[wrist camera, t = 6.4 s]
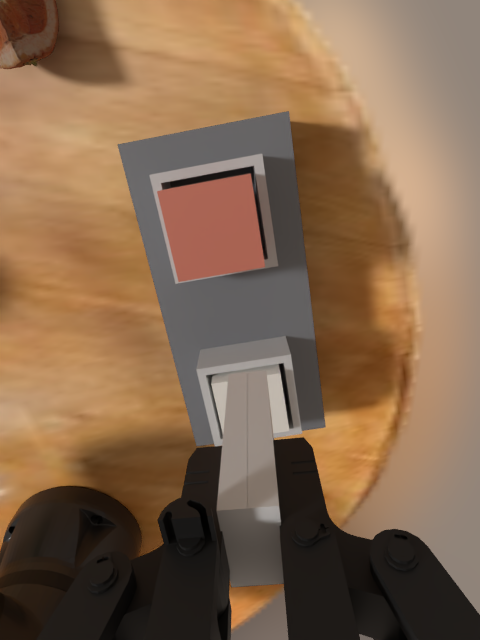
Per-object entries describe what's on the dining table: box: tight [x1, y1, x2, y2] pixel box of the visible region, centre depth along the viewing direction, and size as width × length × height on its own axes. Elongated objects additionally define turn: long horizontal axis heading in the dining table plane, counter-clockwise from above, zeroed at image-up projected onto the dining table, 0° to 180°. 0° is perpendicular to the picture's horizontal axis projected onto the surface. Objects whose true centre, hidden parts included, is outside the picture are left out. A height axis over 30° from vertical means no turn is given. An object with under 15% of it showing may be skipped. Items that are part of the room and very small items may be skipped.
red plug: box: [157, 173, 265, 282], centre depth 24 cm, size 5×5×4 cm
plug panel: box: [118, 111, 325, 446], centre depth 32 cm, size 26×12×8 cm, turn 10°
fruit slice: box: [0, 0, 59, 69], centre depth 26 cm, size 8×7×5 cm
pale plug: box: [211, 364, 289, 433], centre depth 32 cm, size 5×5×4 cm
